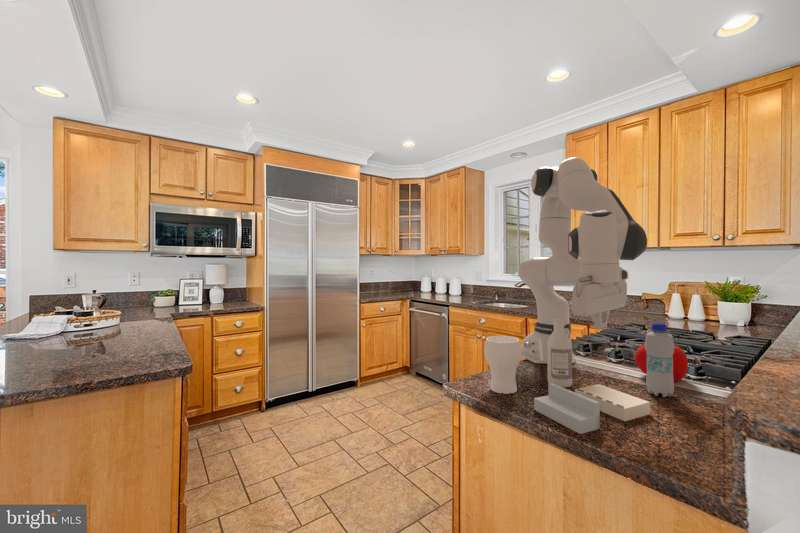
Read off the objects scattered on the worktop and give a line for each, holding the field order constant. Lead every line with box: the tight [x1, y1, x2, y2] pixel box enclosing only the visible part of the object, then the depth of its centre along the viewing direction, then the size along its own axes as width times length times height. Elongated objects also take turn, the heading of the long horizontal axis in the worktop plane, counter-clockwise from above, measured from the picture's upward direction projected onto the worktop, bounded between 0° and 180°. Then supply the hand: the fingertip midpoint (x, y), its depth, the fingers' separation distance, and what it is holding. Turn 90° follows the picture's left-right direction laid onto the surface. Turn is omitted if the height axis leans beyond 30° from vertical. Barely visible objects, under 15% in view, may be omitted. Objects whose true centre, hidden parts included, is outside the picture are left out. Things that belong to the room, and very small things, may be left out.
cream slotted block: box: [574, 383, 651, 422], centre depth 91 cm, size 14×9×3 cm, turn 22°
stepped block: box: [533, 383, 601, 435], centre depth 86 cm, size 14×6×6 cm, turn 22°
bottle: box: [644, 322, 675, 398], centre depth 99 cm, size 7×7×20 cm
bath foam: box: [546, 318, 573, 388], centre depth 109 cm, size 7×7×20 cm
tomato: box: [634, 343, 689, 382], centre depth 111 cm, size 12×14×11 cm
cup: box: [484, 335, 522, 395], centre depth 106 cm, size 11×11×15 cm
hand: (600, 328), depth 90 cm, fingers closed
